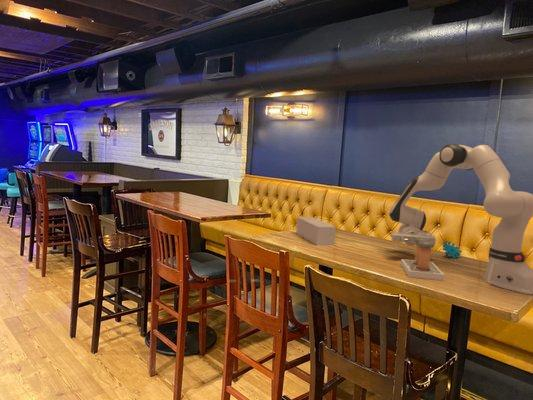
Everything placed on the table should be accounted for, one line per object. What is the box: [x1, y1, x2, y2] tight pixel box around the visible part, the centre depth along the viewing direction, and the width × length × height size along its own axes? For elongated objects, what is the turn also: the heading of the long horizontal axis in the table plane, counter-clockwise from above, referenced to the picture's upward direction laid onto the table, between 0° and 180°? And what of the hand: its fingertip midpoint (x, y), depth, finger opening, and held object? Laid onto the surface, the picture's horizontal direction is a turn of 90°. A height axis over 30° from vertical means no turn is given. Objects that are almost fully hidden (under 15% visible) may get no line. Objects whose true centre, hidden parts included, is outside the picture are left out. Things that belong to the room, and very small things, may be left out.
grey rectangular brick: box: [295, 216, 337, 247], centre depth 238 cm, size 32×11×11 cm, turn 16°
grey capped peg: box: [418, 241, 435, 271], centre depth 172 cm, size 7×7×14 cm
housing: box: [400, 258, 445, 281], centre depth 177 cm, size 20×14×4 cm
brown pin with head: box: [414, 237, 430, 265], centre depth 180 cm, size 7×7×14 cm
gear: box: [442, 241, 463, 260], centre depth 213 cm, size 11×6×10 cm
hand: (416, 241), depth 191 cm, fingers open, 8 cm apart
